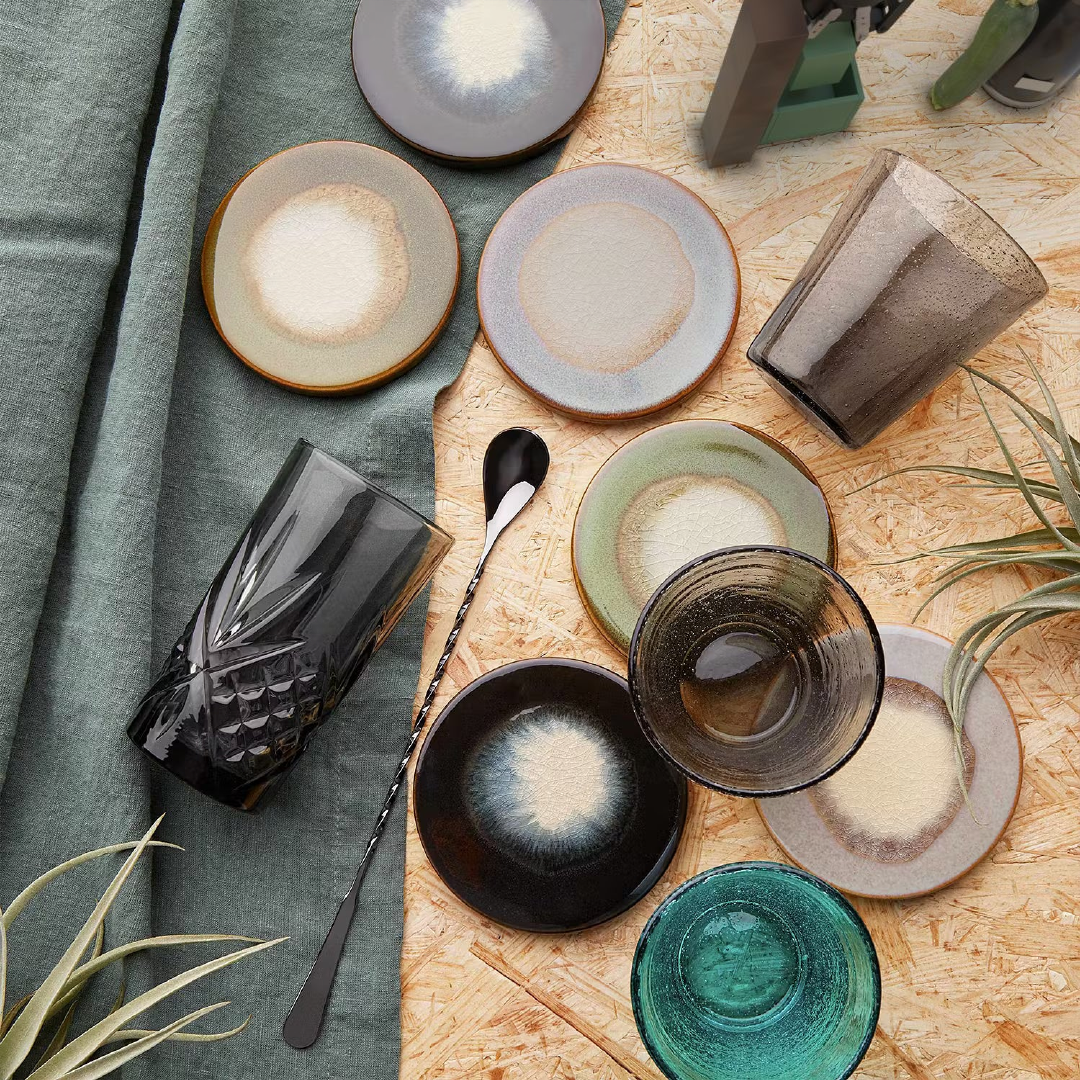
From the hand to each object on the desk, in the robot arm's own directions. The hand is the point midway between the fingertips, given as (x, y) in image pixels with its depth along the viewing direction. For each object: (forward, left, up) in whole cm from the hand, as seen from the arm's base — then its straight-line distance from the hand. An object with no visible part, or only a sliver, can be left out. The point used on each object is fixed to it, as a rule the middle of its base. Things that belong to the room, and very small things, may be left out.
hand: (810, 60), depth 90 cm
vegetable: (-15, +4, -6) cm, 17 cm away
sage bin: (0, 0, -6) cm, 6 cm away
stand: (+8, +4, -6) cm, 11 cm away
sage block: (0, 0, 0) cm, 0 cm away
